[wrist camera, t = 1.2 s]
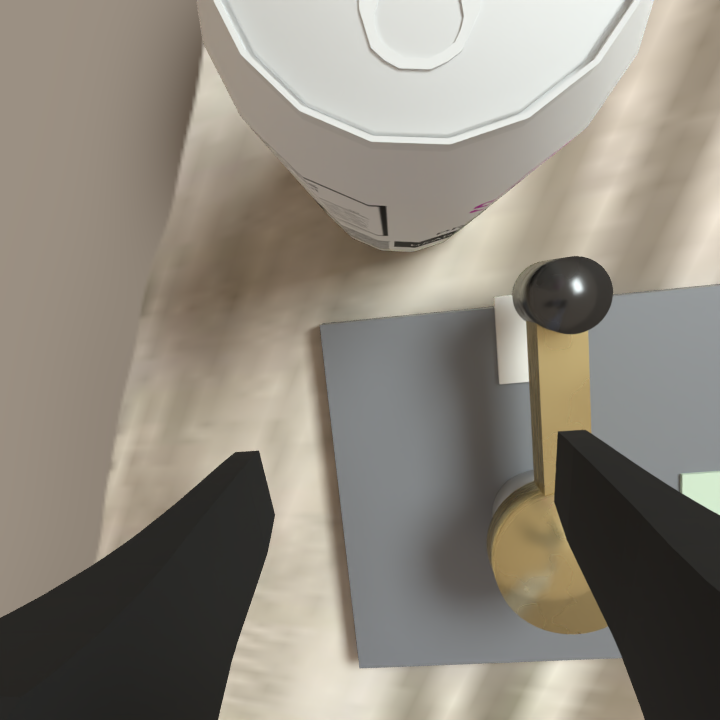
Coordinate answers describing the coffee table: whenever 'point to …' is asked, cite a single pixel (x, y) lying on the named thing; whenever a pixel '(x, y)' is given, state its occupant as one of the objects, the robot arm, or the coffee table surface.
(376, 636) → the plate
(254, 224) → the coffee table surface
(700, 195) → the coffee table surface
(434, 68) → the supplement can
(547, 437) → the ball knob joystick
